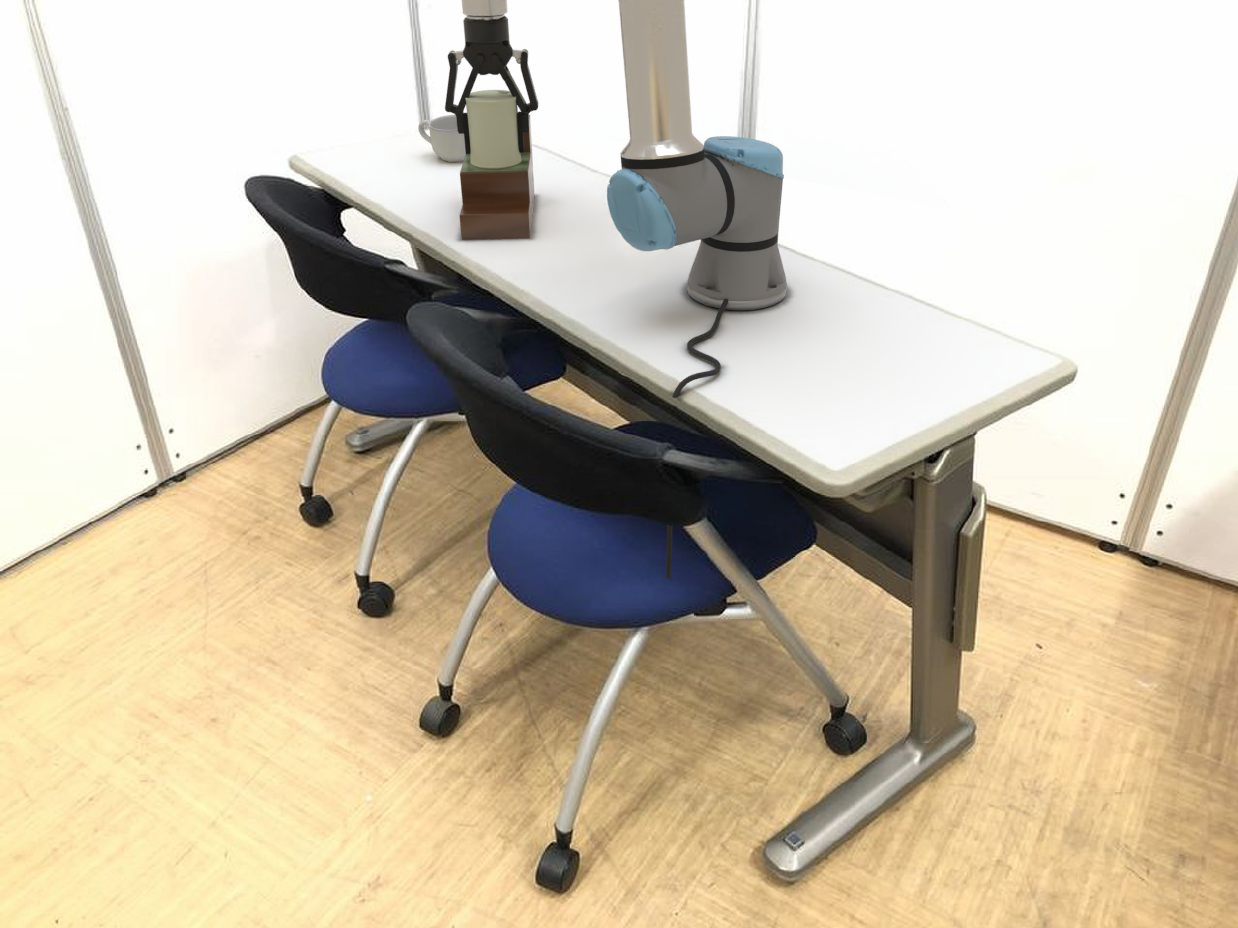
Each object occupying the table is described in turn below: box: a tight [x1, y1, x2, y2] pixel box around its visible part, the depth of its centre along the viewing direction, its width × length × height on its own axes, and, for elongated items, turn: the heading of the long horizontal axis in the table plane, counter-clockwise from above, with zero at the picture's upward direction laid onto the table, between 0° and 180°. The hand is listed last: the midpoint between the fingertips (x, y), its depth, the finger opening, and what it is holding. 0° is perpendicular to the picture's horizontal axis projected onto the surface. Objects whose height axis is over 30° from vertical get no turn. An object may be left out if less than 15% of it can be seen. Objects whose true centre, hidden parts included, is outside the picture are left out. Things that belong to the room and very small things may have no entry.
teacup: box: [418, 114, 466, 163], centre depth 225 cm, size 14×11×8 cm
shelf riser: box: [459, 114, 535, 241], centre depth 190 cm, size 24×12×16 cm, turn 2°
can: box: [465, 89, 522, 169], centre depth 185 cm, size 9×9×12 cm
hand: (495, 151), depth 187 cm, fingers closed on can, 9 cm apart
